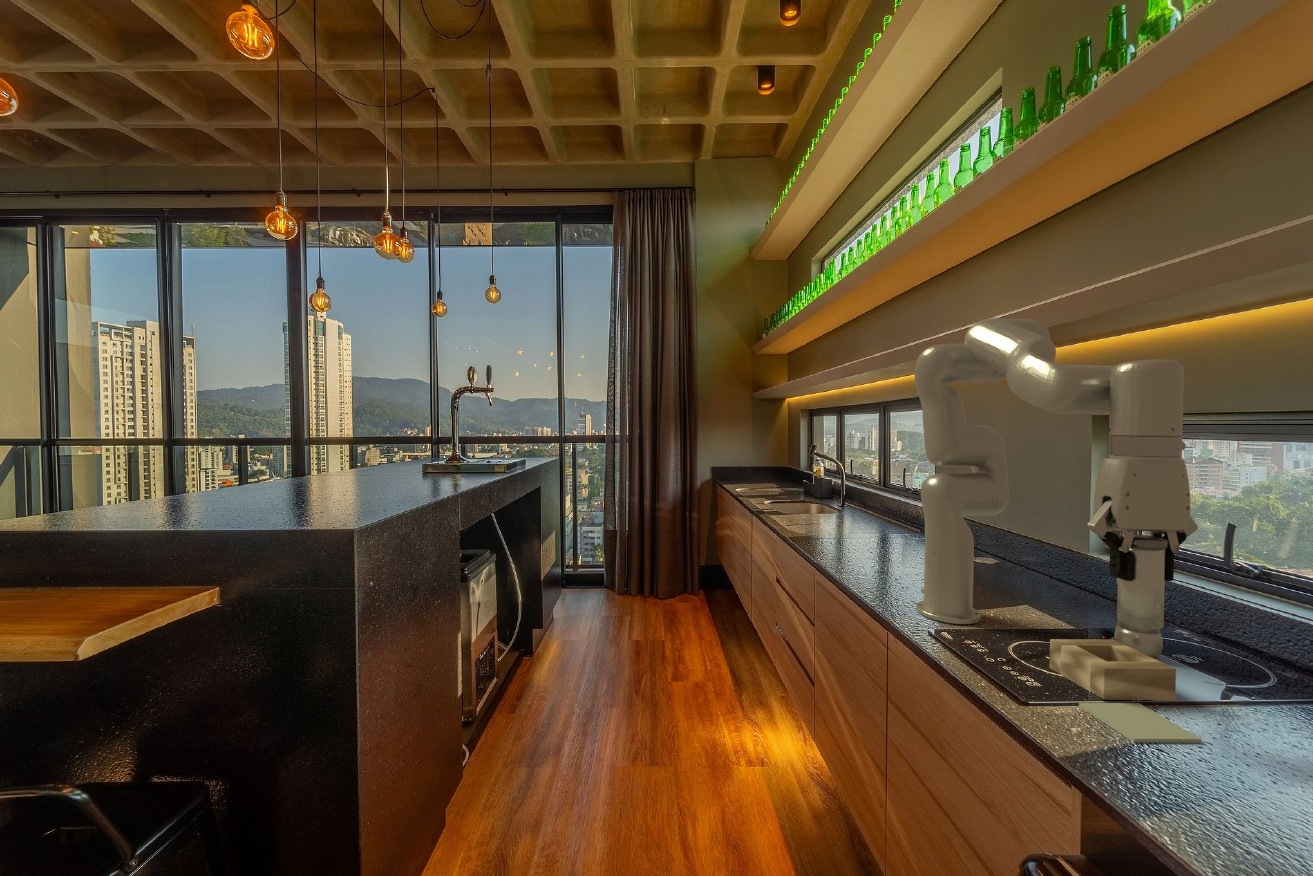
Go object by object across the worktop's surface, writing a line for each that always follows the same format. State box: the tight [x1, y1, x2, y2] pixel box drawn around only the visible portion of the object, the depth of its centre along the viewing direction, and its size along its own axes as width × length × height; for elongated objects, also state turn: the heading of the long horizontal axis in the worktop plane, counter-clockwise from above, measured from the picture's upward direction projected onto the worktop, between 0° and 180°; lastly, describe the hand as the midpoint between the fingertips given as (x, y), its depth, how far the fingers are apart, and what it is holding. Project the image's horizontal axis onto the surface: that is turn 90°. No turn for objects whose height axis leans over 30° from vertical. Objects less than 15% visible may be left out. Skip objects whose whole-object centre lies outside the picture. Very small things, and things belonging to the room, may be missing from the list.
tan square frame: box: [1048, 638, 1177, 702], centre depth 85 cm, size 11×11×5 cm
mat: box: [1078, 702, 1202, 744], centre depth 74 cm, size 9×9×1 cm
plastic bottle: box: [1113, 577, 1164, 658], centre depth 96 cm, size 6×7×20 cm
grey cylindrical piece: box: [1116, 533, 1168, 630], centre depth 73 cm, size 5×5×12 cm
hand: (1140, 577), depth 73 cm, fingers closed on grey cylindrical piece, 4 cm apart
